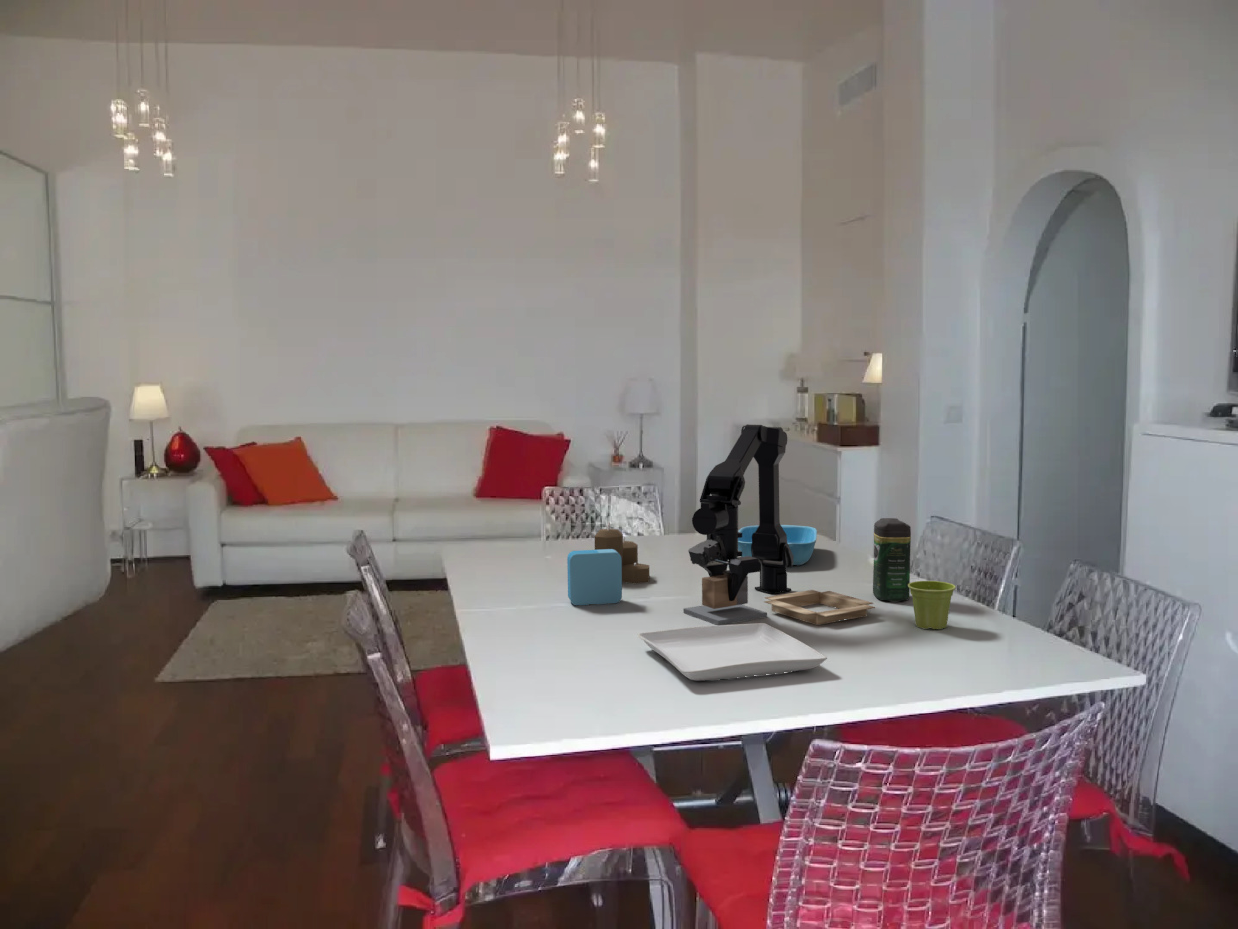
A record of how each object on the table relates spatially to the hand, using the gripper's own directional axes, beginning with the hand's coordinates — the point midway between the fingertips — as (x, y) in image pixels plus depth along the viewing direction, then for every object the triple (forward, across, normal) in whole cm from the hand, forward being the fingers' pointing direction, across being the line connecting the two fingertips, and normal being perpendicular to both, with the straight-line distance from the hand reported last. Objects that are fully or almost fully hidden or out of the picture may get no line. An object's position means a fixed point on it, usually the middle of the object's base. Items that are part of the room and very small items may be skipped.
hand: (725, 598), depth 223 cm
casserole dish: (+4, -46, +52) cm, 70 cm away
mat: (+4, 0, 0) cm, 4 cm away
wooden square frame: (+4, +10, +18) cm, 21 cm away
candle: (+4, -45, 0) cm, 45 cm away
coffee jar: (+4, +8, +42) cm, 43 cm away
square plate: (+4, +28, -20) cm, 35 cm away
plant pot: (+4, +31, +30) cm, 43 cm away
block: (+1, 0, 0) cm, 1 cm away
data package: (+4, -26, -18) cm, 32 cm away
